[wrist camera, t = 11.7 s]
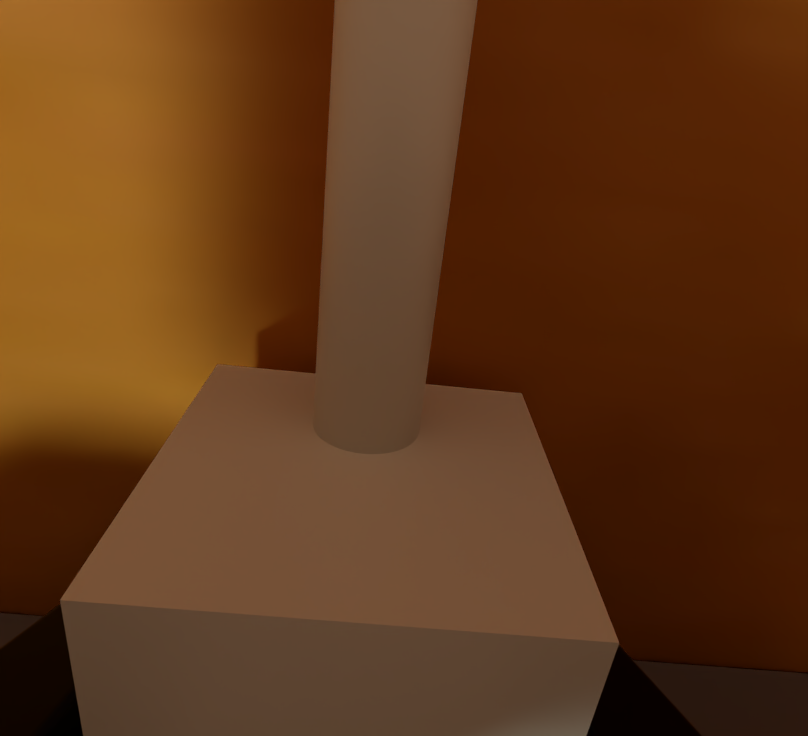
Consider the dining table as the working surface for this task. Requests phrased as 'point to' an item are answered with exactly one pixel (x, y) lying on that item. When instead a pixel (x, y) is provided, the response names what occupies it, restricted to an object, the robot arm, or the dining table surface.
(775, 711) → the grey block
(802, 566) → the dining table surface
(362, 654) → the plug
